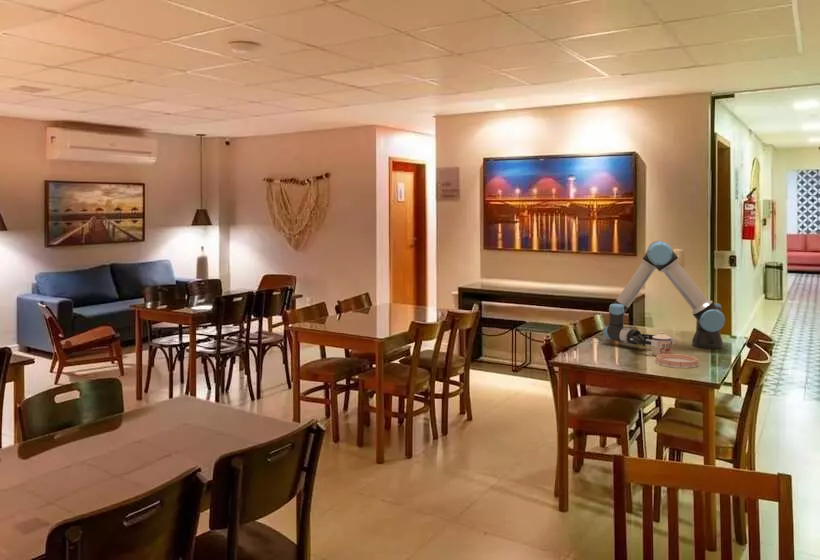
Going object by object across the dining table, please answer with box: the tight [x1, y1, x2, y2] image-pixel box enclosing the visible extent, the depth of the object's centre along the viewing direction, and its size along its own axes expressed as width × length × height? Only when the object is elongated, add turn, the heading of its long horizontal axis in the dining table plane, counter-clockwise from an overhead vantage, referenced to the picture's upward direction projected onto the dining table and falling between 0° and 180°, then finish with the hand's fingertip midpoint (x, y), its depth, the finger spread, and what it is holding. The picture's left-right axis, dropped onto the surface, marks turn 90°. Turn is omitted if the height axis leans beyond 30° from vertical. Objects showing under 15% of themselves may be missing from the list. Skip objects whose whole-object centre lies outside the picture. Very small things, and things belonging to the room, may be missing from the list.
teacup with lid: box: [651, 331, 674, 357], centre depth 333 cm, size 12×9×12 cm
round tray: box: [655, 353, 699, 369], centre depth 313 cm, size 18×18×3 cm
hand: (666, 342), depth 331 cm, fingers open, 13 cm apart
